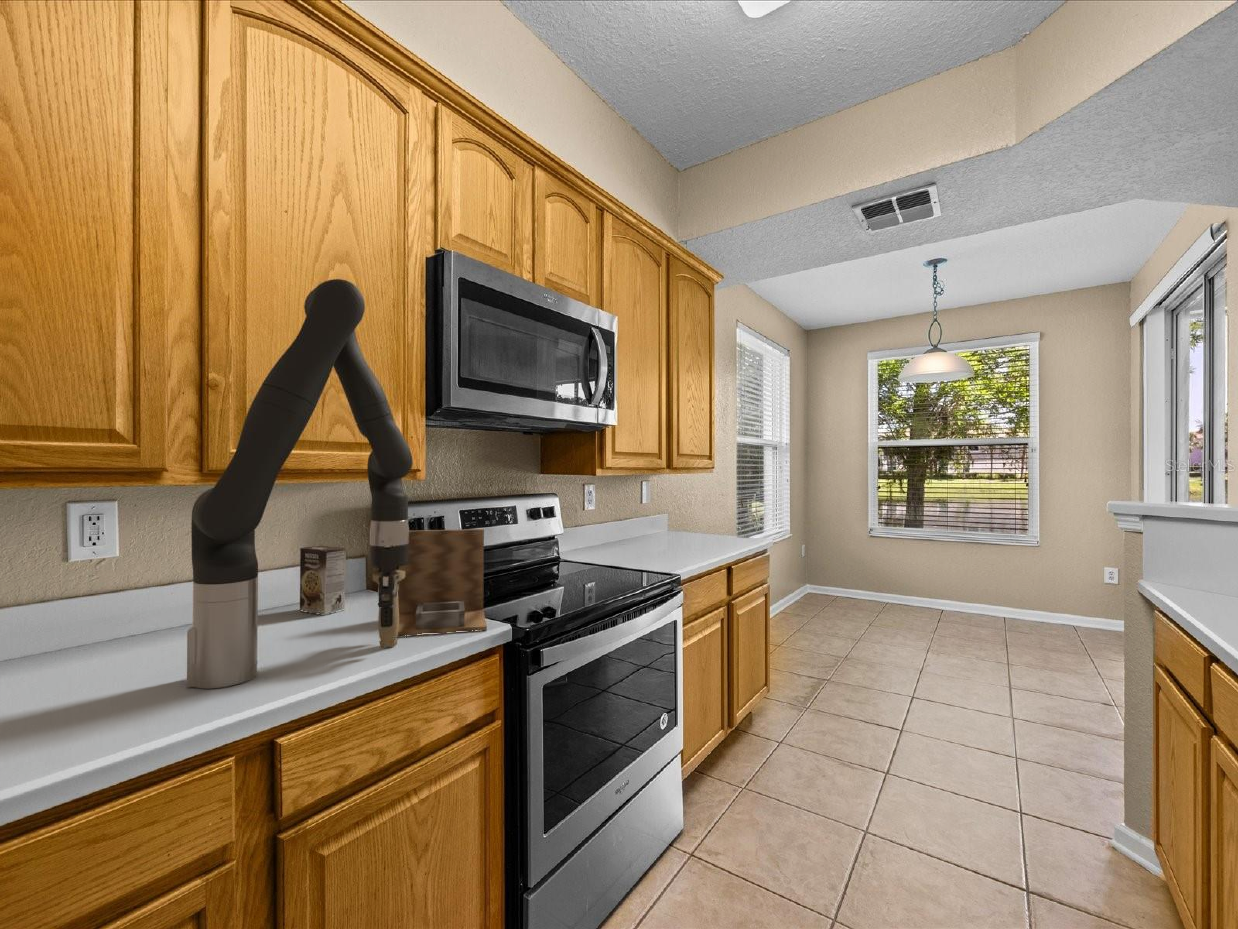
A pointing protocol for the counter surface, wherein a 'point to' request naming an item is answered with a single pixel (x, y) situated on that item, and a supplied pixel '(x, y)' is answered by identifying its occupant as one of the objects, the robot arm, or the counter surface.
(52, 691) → the counter surface
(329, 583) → the coffee box
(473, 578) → the board
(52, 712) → the counter surface
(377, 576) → the handle
